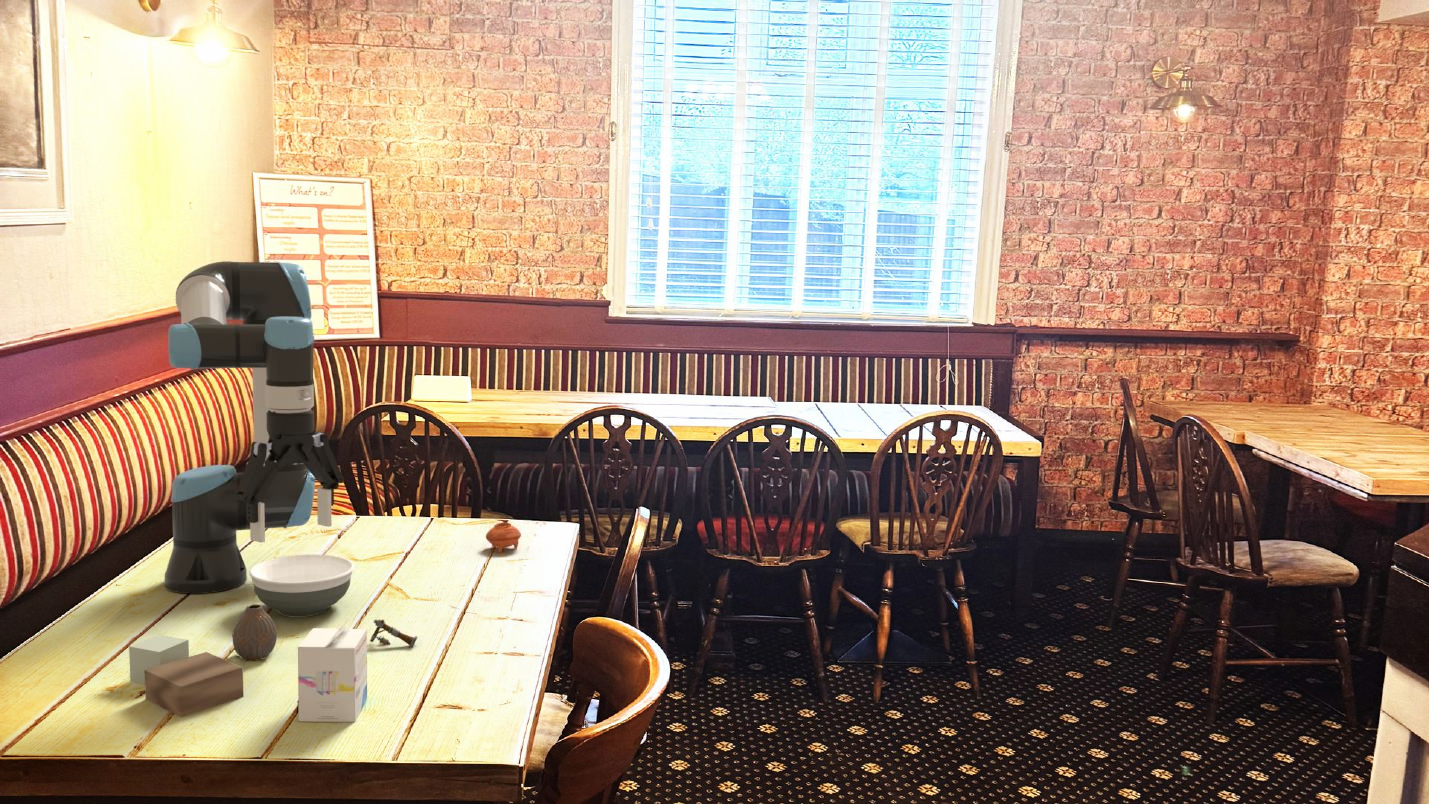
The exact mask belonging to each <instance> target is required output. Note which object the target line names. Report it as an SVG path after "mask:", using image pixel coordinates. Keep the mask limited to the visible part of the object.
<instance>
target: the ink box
mask: <svg viewBox="0 0 1429 804" xmlns="http://www.w3.org/2000/svg"><path fill="white" fill-rule="evenodd" d="M350 621H351V618H348V619H347V621H346V622H344V624H342V626H340V627H338V628H331V627H330V628H327V627H326V628H320V627H317V628H316V627H314V628H312V629H311V630H310V631H309V633H308V634H307V635H306V636H305V638H304V639H302V641H301V642H300V644H299V645H298V646H297V676H298V677H297V679H298V680H297V686H298V687H297V690H298V691H297V692H298V697H297V699H298V700H297V701H298V703H297V704H298V708H297V709H298V713H297V714H298V715H297V716H298V722H307V723H308V722H310V723H311V722H314V723H315V722H319V723H320V722H321V723H323V722H324V723H332V722H333V723H355V722H357V720H358V717H359V715H360V713H361V711H362V709H363V707H364V705H365V703H366V701H367V699H368V628H346V626H347V625H348V623H349V622H350Z"/></svg>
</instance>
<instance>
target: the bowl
mask: <svg viewBox="0 0 1429 804" xmlns="http://www.w3.org/2000/svg"><path fill="white" fill-rule="evenodd" d="M354 570H355V565H354V562H352V561H351V560H349V559H347V558H344V557H341V556H335V555H327V554H294V555H286V556H281V557H280V556H279V557H276V558H271V559H267V560H264V561H261V562H259V563H257V564H254V566H252V568H251V569H250V570H249V576H250V578H251V580H252V583H253V590H254V593H255V595H256V596H257V598H258V599H259V601H260V602H261V603H263V605H265V606H267V608H270V609H271V610H274V611H276V612H277V613H279V614H280V615H283V616H285V617H289V618H290V617H293V618H306V617H311V616H316V615H319V614H322V613H324V612H325V611H327V610H328V609H329V608H330V607H332V606H333V605H335V604H337V603H338V602H339V601H340V600H341V599H342V598H344V596H346V594H347V591H348V590H349V588H350V585H351V579H352V577H351V576H352V574H353V572H354Z"/></svg>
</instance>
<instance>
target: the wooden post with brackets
mask: <svg viewBox="0 0 1429 804" xmlns="http://www.w3.org/2000/svg"><path fill="white" fill-rule="evenodd" d="M373 623H374V626H376V628H375V630H374V632H373V634H372V635H371V637H370V639H369V642H371V643H373V642H375V639H377V641H379V644H382V645H384V646H390V645H391V641H390V639H389V638H385V636H383V637H381V636H378V635H379V634H380V633H383V632H386V633H387V634H390V636H393V637H394V638H398V639H400V640H401V641H402V642H404V643H406V644H407V645H408V648H410V649H411V648H412V646H413V645H415V644H416V641H417V640H418V636H417V635H415V636H410V635H408V634H405V633H403V632H401V631H400V630H398V629H397V628H395V627H393V626H390V625H388V624H386V622H385V620H384V619H374V620H373ZM381 629H382V630H381ZM412 644H413V645H412Z"/></svg>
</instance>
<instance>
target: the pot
mask: <svg viewBox="0 0 1429 804" xmlns="http://www.w3.org/2000/svg"><path fill="white" fill-rule="evenodd" d="M521 537H522V533H521V532H520V530H519V529H518V528H517V527H515V526H514V525H512V524H511V523H510V522H506V521H505V522H504V521H503V522H499V523H498V522H497V523H495V524H494V526H493V527H492V528H490V529H489V530H488V531H487V533H486V535H485V539H486V541H487V542H489V543H490V544H491V546H492V547H493V548H494V549H495V548H497V550H498V552H499V553H500V554H501V553H502V552H503V548H509V547H511V546H513V547H514V549H515V548H516V549H517V548H518V546H519V540H520V538H521Z"/></svg>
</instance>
